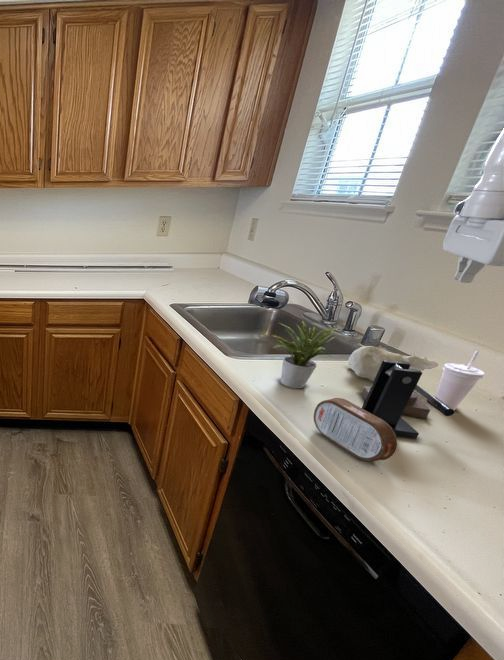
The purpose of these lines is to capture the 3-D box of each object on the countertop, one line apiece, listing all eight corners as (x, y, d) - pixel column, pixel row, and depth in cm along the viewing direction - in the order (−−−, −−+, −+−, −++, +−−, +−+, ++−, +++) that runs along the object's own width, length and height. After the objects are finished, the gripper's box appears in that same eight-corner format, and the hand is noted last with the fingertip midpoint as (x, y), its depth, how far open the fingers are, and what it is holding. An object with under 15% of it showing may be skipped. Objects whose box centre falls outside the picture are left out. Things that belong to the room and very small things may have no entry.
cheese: (326, 376, 115) (373, 362, 101) (332, 353, 117) (380, 336, 102) (381, 398, 114) (437, 387, 99) (387, 374, 115) (442, 360, 101)
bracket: (395, 418, 92) (423, 361, 86) (416, 438, 85) (448, 378, 79) (337, 411, 94) (360, 355, 88) (353, 430, 87) (380, 370, 81)
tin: (387, 469, 76) (407, 430, 72) (373, 471, 75) (392, 432, 71) (317, 425, 89) (331, 390, 85) (305, 426, 88) (318, 391, 85)
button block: (412, 402, 98) (420, 387, 97) (426, 418, 92) (434, 402, 90) (360, 393, 102) (366, 379, 100) (369, 408, 96) (376, 393, 94)
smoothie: (469, 415, 93) (503, 358, 87) (433, 410, 95) (464, 354, 89) (453, 402, 99) (483, 347, 92) (419, 397, 100) (447, 343, 94)
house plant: (292, 368, 115) (311, 311, 108) (341, 390, 103) (366, 328, 96) (250, 373, 112) (267, 315, 105) (295, 398, 100) (318, 334, 93)
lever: (429, 405, 88) (440, 398, 86) (446, 419, 83) (458, 411, 82) (380, 368, 87) (391, 360, 86) (394, 380, 82) (406, 371, 81)
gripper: (557, 212, 69) (512, 295, 75) (492, 205, 85) (459, 273, 91) (505, 211, 71) (465, 290, 77) (452, 204, 88) (422, 270, 94)
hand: (461, 281), depth 84 cm, fingers closed
